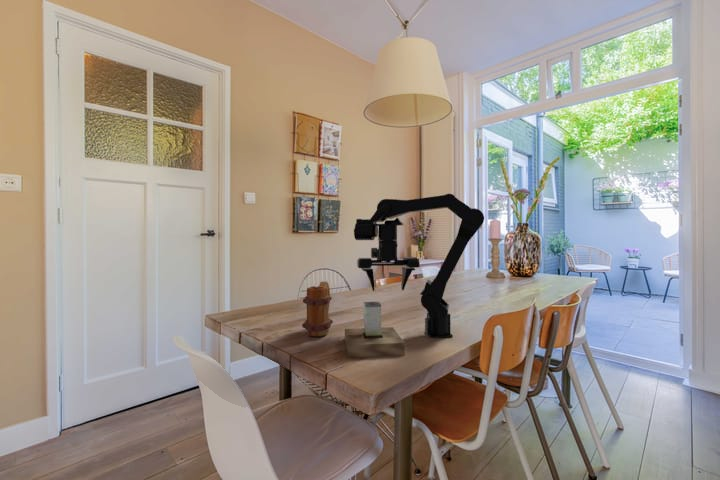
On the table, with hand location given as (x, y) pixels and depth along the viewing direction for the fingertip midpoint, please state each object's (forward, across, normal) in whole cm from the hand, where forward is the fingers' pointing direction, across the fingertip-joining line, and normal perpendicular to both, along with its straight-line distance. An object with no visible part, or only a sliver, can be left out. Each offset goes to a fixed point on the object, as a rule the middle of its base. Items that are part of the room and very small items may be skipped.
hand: (388, 290), depth 101 cm
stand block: (+12, +7, +14) cm, 20 cm away
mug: (+13, +21, -1) cm, 25 cm away
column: (+9, +7, +14) cm, 18 cm away
